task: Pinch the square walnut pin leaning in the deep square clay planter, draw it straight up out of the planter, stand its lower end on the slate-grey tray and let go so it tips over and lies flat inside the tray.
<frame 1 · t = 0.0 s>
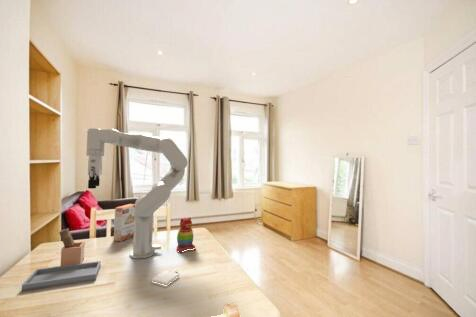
hand: (93, 187, 112), 37 cm above the table, tool pointing down, fingers open, 9 cm apart
cracker box: (125, 238, 145), on the table
square clay planter: (72, 263, 108), on the table
grey tray: (65, 277, 95), on the table
perfume bottle: (168, 279, 98), on the table
stacking bear: (185, 249, 131), on the table
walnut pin: (69, 245, 107), point 9 cm above the table, touching square clay planter
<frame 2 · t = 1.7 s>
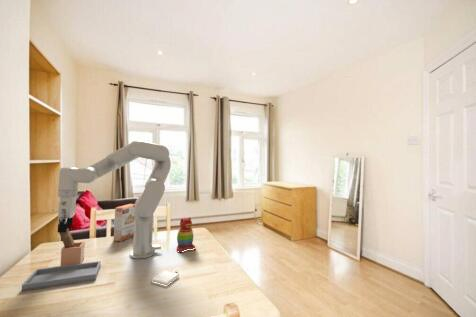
hand: (65, 229, 106), 17 cm above the table, tool pointing down, fingers open, 9 cm apart
nothing on the table moved.
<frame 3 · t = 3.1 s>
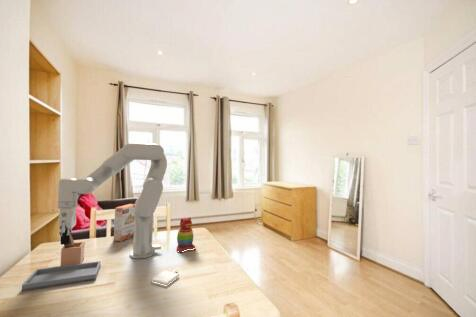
hand: (66, 242, 107), 11 cm above the table, tool pointing down, fingers closed on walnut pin, 3 cm apart
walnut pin: (69, 245, 107), point 9 cm above the table, touching gripper, square clay planter
everything else where it was.
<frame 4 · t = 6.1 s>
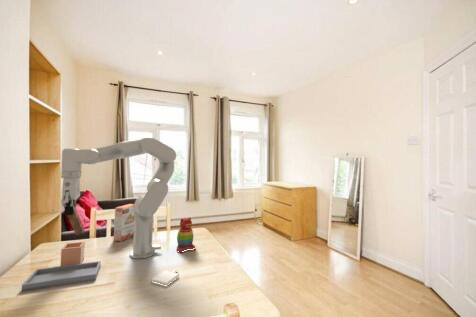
hand: (70, 213, 105), 25 cm above the table, tool pointing down, fingers closed on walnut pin, 3 cm apart
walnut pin: (74, 217, 105), point 23 cm above the table, touching gripper
everything else where it was.
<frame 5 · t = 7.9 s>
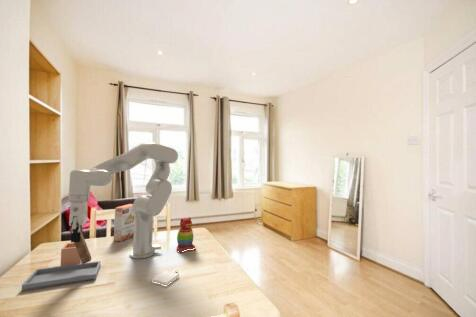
hand: (76, 240, 97), 16 cm above the table, tool pointing down, fingers closed on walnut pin, 3 cm apart
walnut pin: (80, 244, 97), point 13 cm above the table, touching gripper
everything else where it was.
when the fingers open (11 cm above the table, at t = 9.1 s): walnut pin drops 7 cm and tips over, resting on grey tray.
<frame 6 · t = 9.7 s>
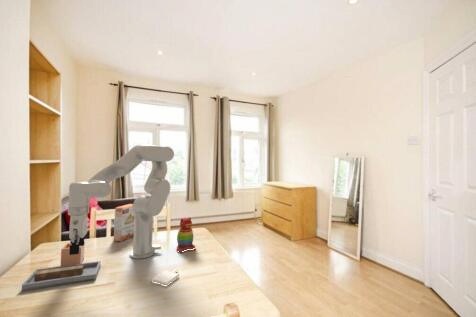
hand: (77, 249, 97), 11 cm above the table, tool pointing down, fingers open, 9 cm apart
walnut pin: (60, 273, 95), point 2 cm above the table, tilted 72°, touching grey tray
everything else where it was.
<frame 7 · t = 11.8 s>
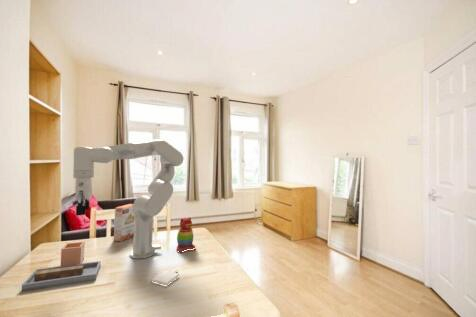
hand: (82, 212, 100), 27 cm above the table, tool pointing down, fingers open, 9 cm apart
nothing on the table moved.
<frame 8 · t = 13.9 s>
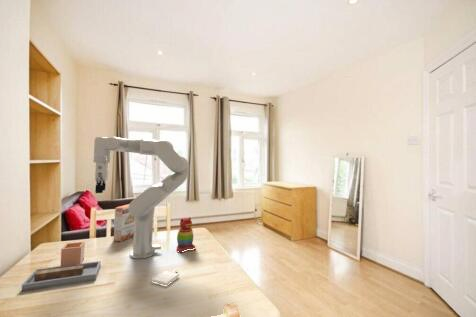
hand: (100, 191, 120), 33 cm above the table, tool pointing down, fingers open, 9 cm apart
nothing on the table moved.
at the end: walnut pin inside the target area on the grey tray (1.9 cm from its centre), point 2.3 cm above the grey tray's base; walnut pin touching grey tray; the gripper is holding nothing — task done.
